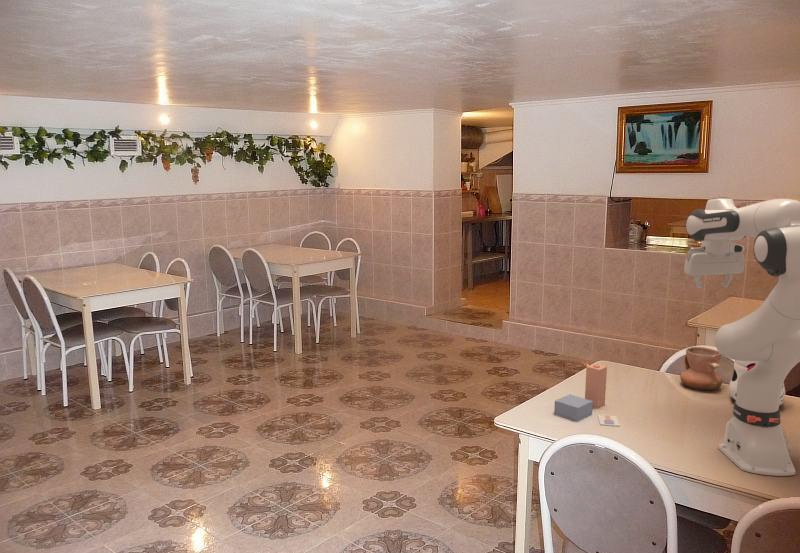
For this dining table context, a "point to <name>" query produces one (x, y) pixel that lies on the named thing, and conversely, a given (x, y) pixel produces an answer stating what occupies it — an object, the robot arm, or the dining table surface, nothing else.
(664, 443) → the dining table surface
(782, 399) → the milk container
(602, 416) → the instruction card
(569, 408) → the base brick
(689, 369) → the ceramic jug
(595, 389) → the coral brick
